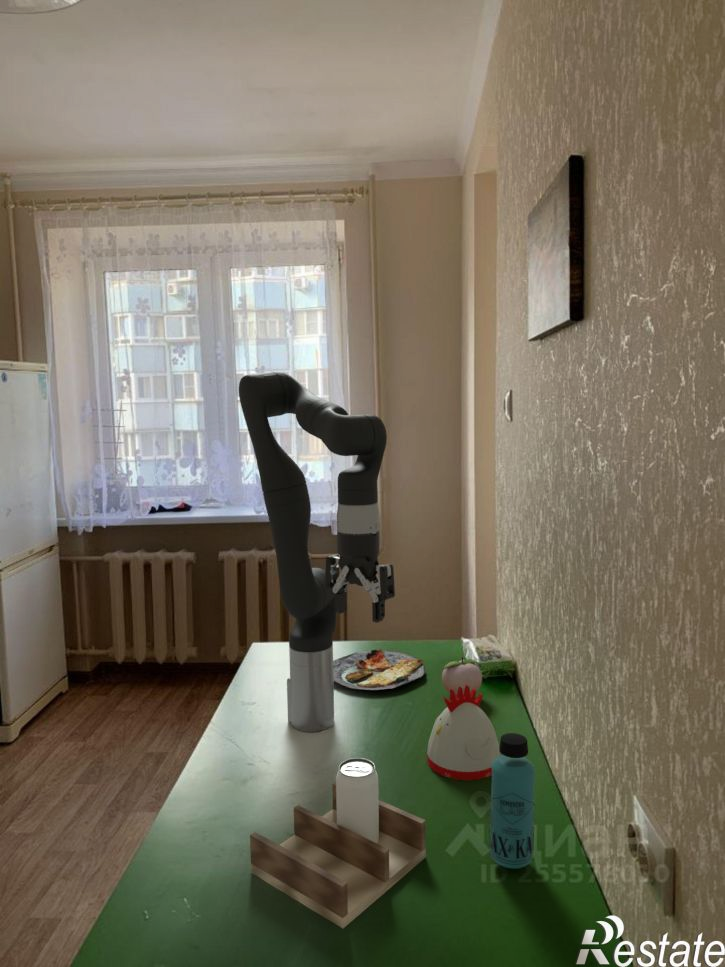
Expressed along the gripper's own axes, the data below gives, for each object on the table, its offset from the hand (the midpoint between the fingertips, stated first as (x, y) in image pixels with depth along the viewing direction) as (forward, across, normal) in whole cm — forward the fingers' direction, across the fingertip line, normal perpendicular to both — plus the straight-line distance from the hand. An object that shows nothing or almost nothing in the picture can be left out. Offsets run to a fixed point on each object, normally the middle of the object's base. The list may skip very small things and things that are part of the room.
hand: (359, 616), depth 131 cm
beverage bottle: (+30, +34, -6) cm, 46 cm away
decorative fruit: (+30, -3, +40) cm, 50 cm away
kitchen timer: (+30, +12, +16) cm, 36 cm away
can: (+29, +14, -17) cm, 36 cm away
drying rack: (+30, +14, -22) cm, 40 cm away
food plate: (+31, -28, +39) cm, 57 cm away
